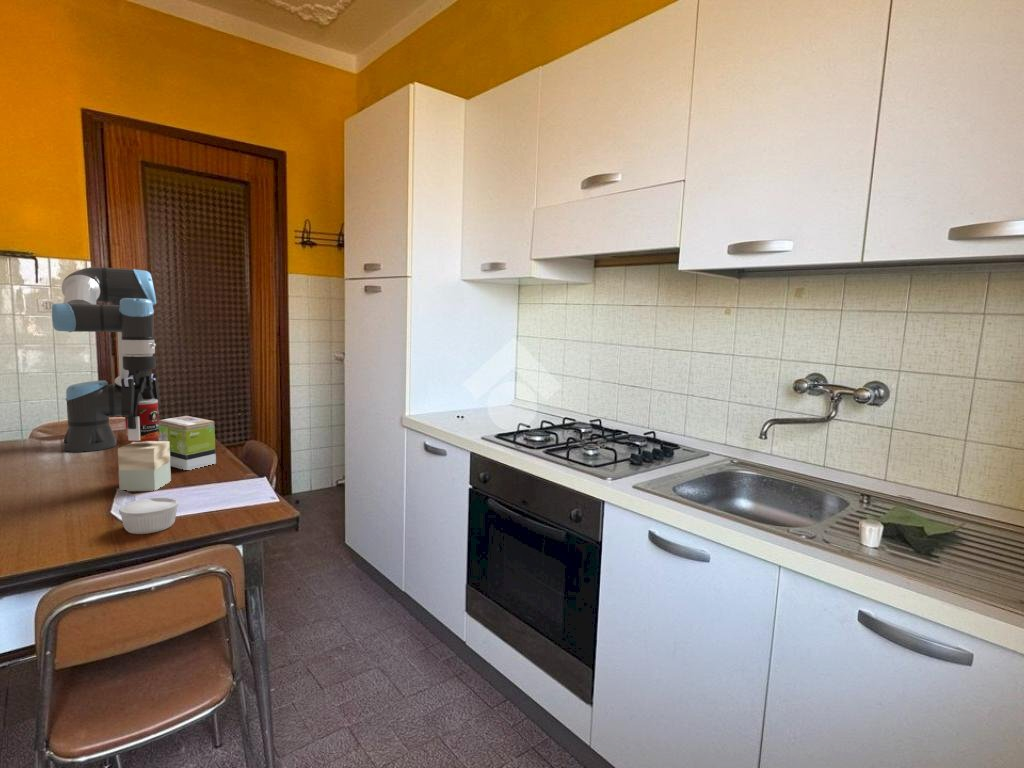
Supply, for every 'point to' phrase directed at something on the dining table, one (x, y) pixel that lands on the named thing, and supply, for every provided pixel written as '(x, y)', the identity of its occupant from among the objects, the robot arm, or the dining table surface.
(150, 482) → the lower block
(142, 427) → the canned food
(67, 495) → the dining table surface
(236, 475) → the dining table surface
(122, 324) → the robot arm
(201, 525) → the dining table surface
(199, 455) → the tea box
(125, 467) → the top block
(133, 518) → the ramekin
